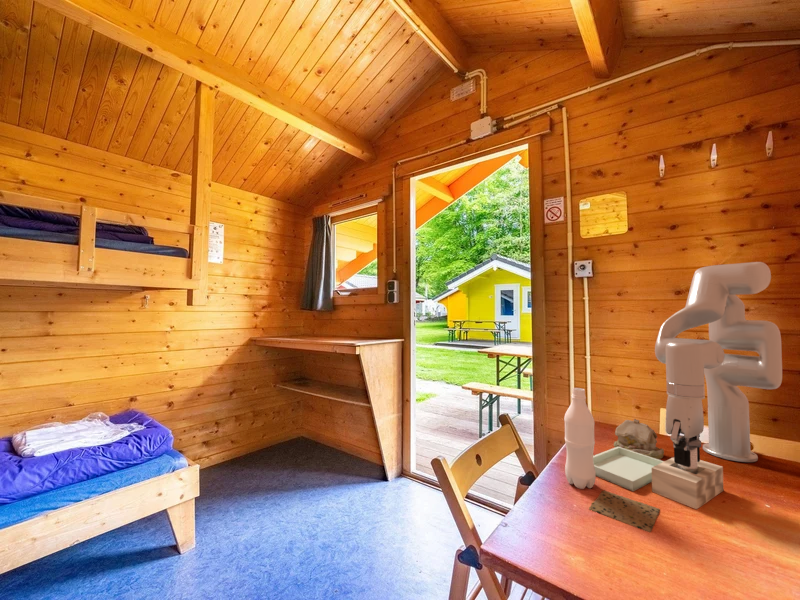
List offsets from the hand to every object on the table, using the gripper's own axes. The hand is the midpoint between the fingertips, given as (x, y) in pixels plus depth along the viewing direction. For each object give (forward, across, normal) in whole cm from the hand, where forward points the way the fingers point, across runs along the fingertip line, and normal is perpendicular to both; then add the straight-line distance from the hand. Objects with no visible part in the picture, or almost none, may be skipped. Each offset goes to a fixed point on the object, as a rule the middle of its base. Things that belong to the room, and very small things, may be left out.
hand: (687, 461), depth 88 cm
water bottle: (+8, +20, -16) cm, 27 cm away
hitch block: (+7, 0, 0) cm, 7 cm away
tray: (+7, +2, -14) cm, 16 cm away
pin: (+7, 0, 0) cm, 7 cm away
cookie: (+8, +22, -4) cm, 24 cm away
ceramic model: (+8, -17, -20) cm, 27 cm away
